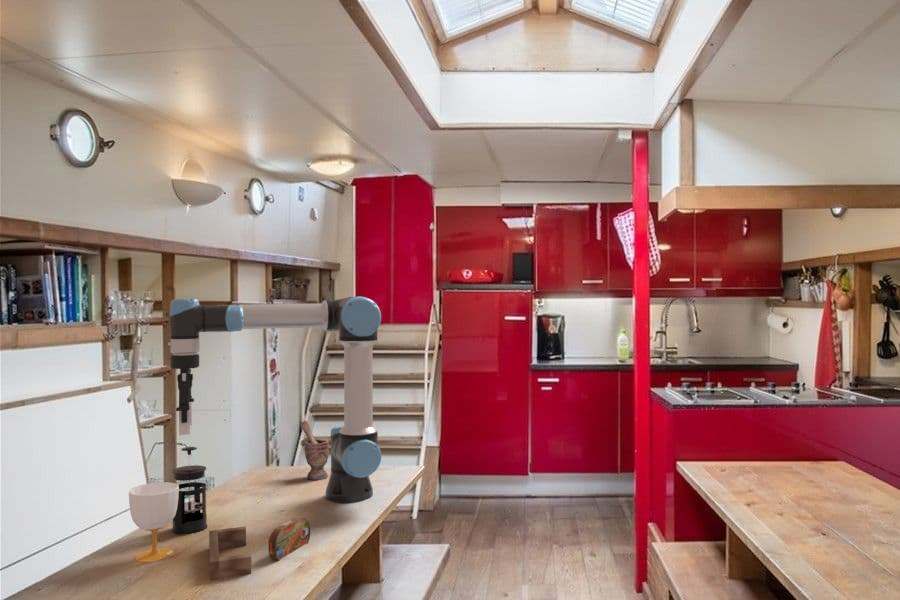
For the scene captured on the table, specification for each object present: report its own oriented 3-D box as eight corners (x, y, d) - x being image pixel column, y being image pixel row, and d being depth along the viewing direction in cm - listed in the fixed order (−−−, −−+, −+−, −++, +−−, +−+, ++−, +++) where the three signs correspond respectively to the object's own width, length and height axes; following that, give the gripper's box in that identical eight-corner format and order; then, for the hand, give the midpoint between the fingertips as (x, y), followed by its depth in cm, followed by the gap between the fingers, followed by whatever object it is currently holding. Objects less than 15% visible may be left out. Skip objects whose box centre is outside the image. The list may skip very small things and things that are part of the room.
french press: (183, 522, 195) (183, 443, 195) (214, 523, 194) (214, 443, 194) (161, 536, 183) (161, 452, 183) (194, 537, 182) (193, 453, 182)
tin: (276, 567, 161) (276, 532, 161) (265, 565, 163) (265, 531, 163) (311, 545, 175) (311, 513, 175) (301, 544, 177) (301, 512, 177)
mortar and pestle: (293, 479, 240) (292, 423, 239) (303, 473, 248) (303, 419, 248) (323, 481, 237) (322, 424, 237) (332, 475, 245) (332, 420, 245)
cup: (147, 568, 161) (146, 498, 161) (119, 558, 167) (118, 490, 167) (189, 552, 171) (188, 486, 171) (161, 544, 177) (160, 479, 177)
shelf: (245, 545, 176) (245, 526, 176) (251, 578, 155) (251, 556, 155) (209, 550, 173) (209, 530, 173) (210, 584, 152) (210, 562, 152)
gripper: (173, 351, 197) (173, 422, 197) (167, 358, 174) (167, 439, 174) (200, 350, 200) (201, 421, 200) (198, 357, 176) (198, 437, 176)
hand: (185, 429), depth 187 cm, fingers open, 13 cm apart
